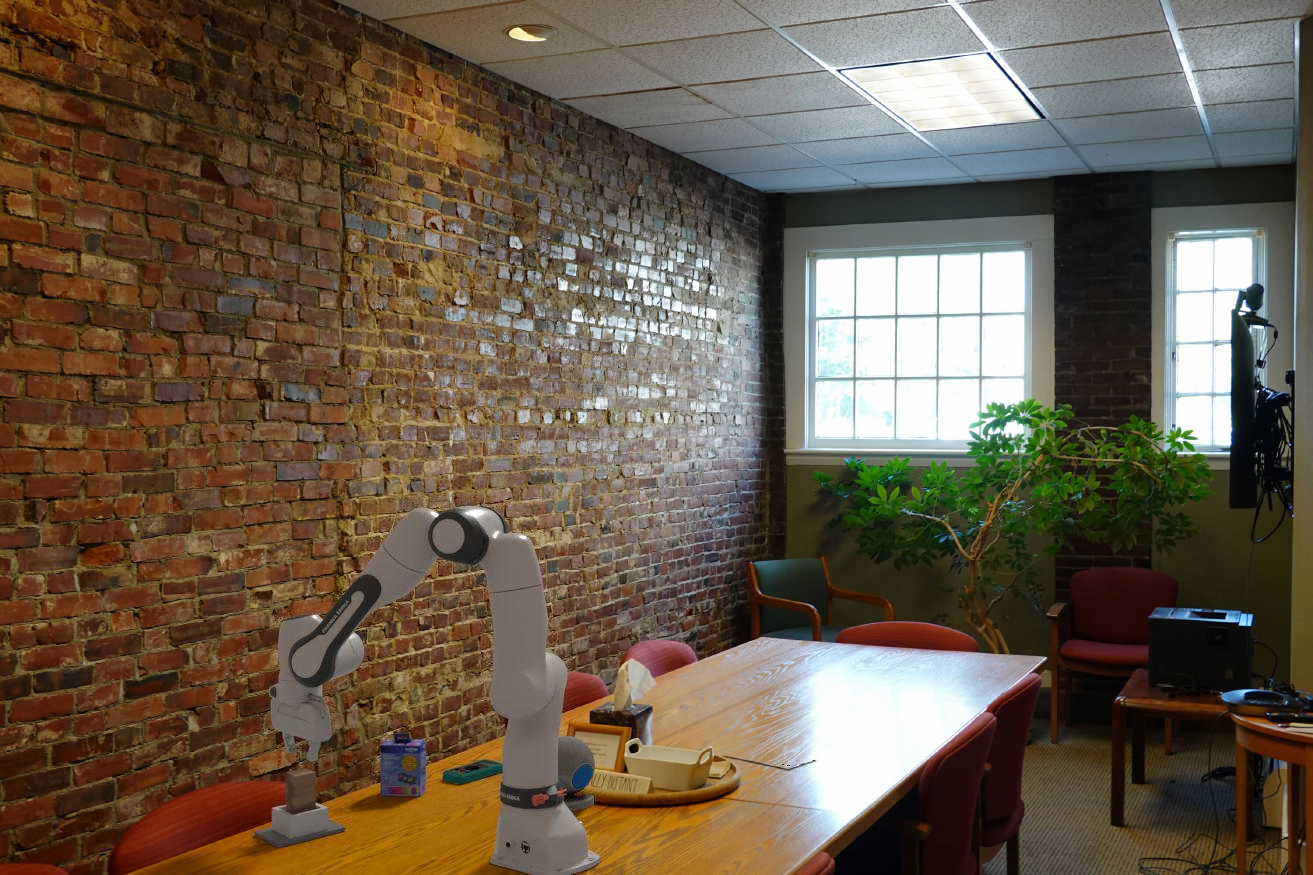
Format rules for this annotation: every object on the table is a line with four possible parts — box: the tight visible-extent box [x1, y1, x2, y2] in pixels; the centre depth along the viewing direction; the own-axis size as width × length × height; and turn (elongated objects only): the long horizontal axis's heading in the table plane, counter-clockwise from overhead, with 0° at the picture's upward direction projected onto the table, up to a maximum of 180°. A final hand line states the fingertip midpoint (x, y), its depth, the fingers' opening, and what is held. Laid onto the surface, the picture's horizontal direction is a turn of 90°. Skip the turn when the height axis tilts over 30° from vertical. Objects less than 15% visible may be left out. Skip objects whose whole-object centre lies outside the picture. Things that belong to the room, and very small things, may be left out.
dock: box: [253, 802, 347, 849], centre depth 242 cm, size 11×15×5 cm
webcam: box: [558, 735, 596, 812], centre depth 263 cm, size 13×13×15 cm
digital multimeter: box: [442, 759, 503, 785], centre depth 286 cm, size 7×15×3 cm, turn 141°
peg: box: [285, 767, 317, 814], centre depth 242 cm, size 4×4×12 cm
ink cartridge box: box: [379, 733, 427, 798], centre depth 271 cm, size 10×6×14 cm, turn 88°
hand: (301, 756), depth 243 cm, fingers open, 8 cm apart
